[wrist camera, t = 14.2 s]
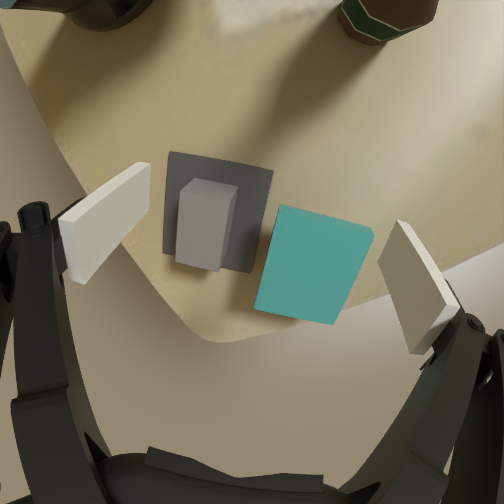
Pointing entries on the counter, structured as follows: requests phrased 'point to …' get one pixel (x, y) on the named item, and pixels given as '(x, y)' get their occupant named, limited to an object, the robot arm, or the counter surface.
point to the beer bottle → (384, 18)
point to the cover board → (311, 265)
